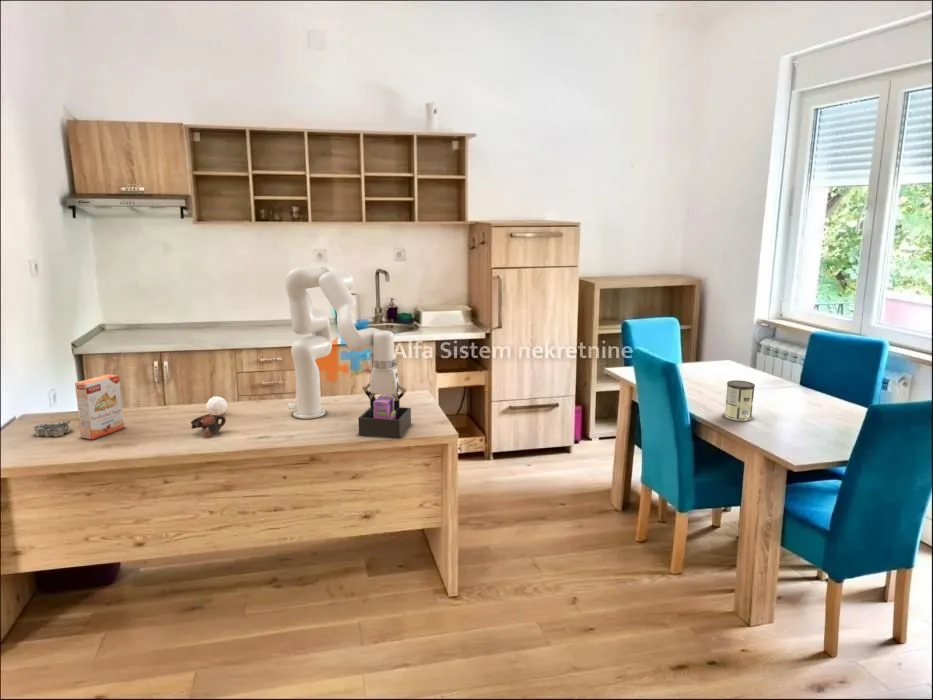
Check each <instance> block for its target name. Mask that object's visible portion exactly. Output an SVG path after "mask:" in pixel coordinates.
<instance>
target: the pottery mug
mask: <svg viewBox="0 0 933 700" xmlns="http://www.w3.org/2000/svg"><path fill="white" fill-rule="evenodd" d="M219 420H221V422H220V423H219ZM226 422H227V419H226V418H225V416H224V415H223V414H221V415H219V416H217V415H215V416H213V415H212V414H210V413H206V414H204V415H201V416H199V417H196V418H195V419H193V420H191V421H190V424H191V428H190V429H191V430H194V429H196V428H197V429H200V428H201V429H202V430H204V432H203V434H204V436H205V438H209V437H212V436H215V435H218V434H220V430H221V429H222V428H223V427H224V426H225V425H226Z"/></svg>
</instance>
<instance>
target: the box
mask: <svg viewBox="0 0 933 700" xmlns="http://www.w3.org/2000/svg"><path fill="white" fill-rule="evenodd" d="M394 401H395V398H394V397H393V395H383V394H380V395H379V396H377V398H376V400H375V401H374V402H373V406H374V418H377V419H392V420H396V411H394Z"/></svg>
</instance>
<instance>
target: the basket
mask: <svg viewBox="0 0 933 700" xmlns="http://www.w3.org/2000/svg"><path fill="white" fill-rule="evenodd" d="M357 419H358V421H357V422H358V436H359V437H361V436H362V437H375V438H390V439H401V437H403V435H404V434H405V432H406V431H408V429H409V428H410V426H411V425H412V408H411V407H403V406H400V407H399V408H398V410H397V411H396V420H392V419H377V418H374V409H373V410H372V409H371V406H369V408H368V409H366V410H365V411H364V412H363V413H362V414H361V415H360V416H359V417H358V418H357Z"/></svg>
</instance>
